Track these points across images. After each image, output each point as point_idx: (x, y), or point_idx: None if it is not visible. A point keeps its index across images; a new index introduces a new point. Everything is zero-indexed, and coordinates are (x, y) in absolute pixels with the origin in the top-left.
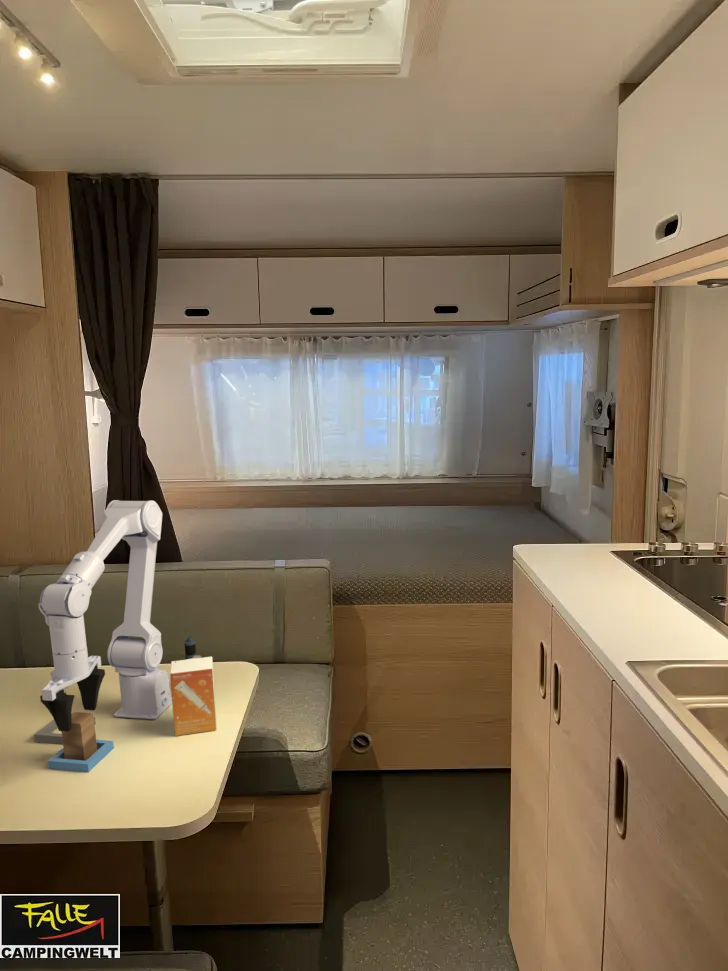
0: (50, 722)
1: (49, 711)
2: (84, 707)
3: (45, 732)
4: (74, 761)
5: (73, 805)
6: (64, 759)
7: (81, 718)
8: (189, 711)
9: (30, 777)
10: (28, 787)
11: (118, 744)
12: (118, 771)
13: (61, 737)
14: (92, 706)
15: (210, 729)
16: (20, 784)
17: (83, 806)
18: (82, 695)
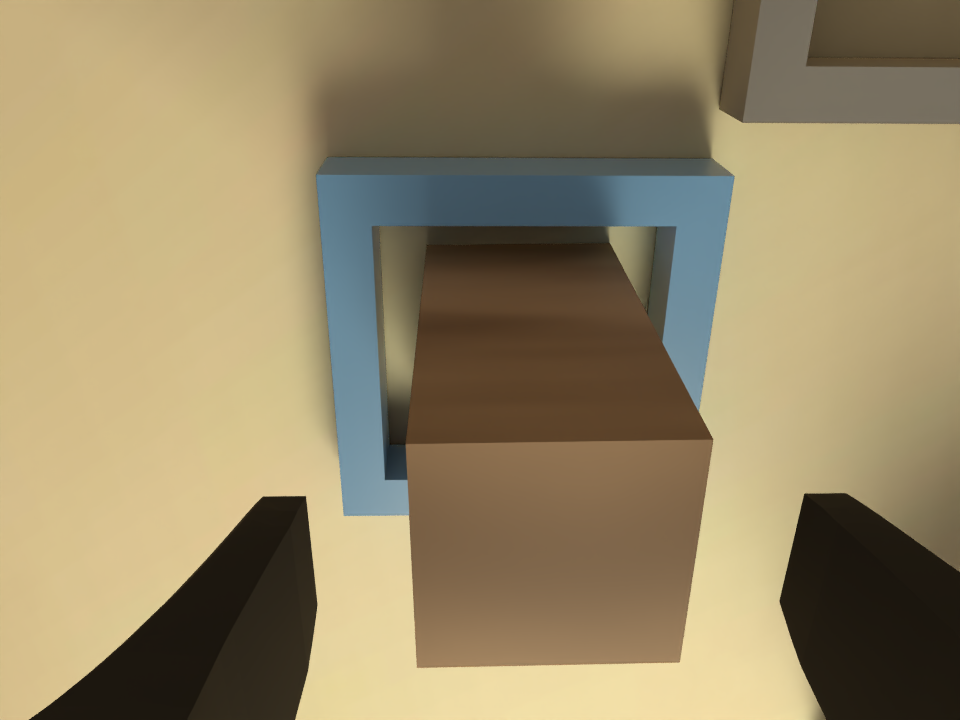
0: None
1: (54, 701)
2: (816, 519)
3: None
4: (356, 405)
5: (12, 582)
6: (366, 310)
7: (534, 620)
8: None
9: (169, 80)
10: (47, 167)
11: (724, 477)
12: (399, 631)
13: (757, 7)
14: (802, 629)
15: None
16: (54, 63)
17: (29, 633)
18: (923, 627)
